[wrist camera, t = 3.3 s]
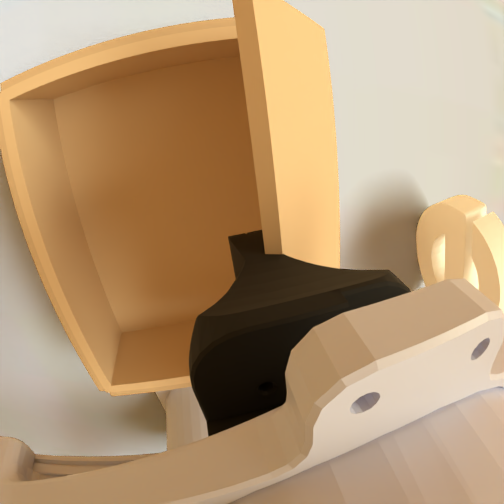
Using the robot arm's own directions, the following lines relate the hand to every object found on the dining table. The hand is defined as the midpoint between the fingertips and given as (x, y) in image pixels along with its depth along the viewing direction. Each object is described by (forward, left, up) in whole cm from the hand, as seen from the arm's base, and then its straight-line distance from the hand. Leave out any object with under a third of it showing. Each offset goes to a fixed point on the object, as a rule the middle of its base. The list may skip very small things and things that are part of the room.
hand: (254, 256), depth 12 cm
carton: (0, +3, -9) cm, 9 cm away
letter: (-12, -17, -9) cm, 23 cm away
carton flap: (0, -2, 0) cm, 2 cm away
